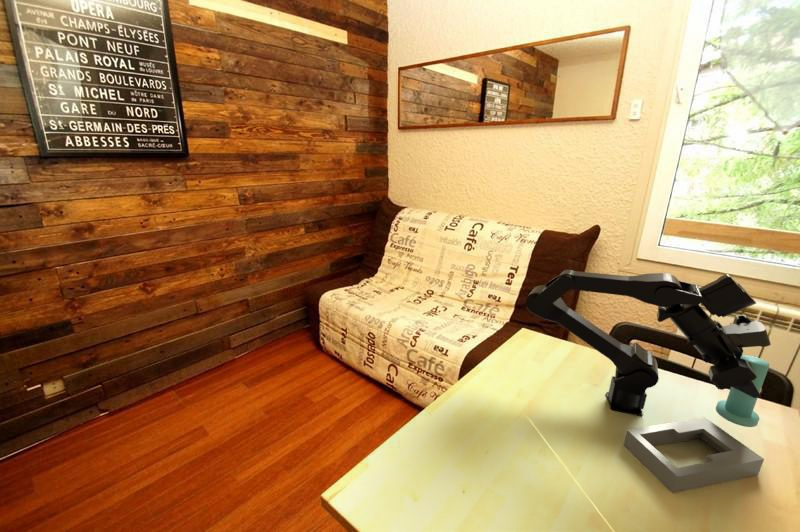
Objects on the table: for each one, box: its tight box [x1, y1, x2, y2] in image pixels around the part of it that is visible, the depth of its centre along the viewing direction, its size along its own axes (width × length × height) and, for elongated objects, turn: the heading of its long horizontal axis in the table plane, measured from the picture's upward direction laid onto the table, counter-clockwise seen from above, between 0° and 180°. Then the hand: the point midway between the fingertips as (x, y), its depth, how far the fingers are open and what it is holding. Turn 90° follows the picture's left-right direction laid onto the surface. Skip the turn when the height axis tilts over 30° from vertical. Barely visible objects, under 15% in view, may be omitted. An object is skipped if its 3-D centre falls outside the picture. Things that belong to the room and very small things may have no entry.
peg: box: [715, 354, 770, 428], centre depth 71 cm, size 6×6×13 cm
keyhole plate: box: [623, 416, 765, 494], centre depth 68 cm, size 19×11×4 cm, turn 101°
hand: (754, 390), depth 70 cm, fingers closed on peg, 4 cm apart
